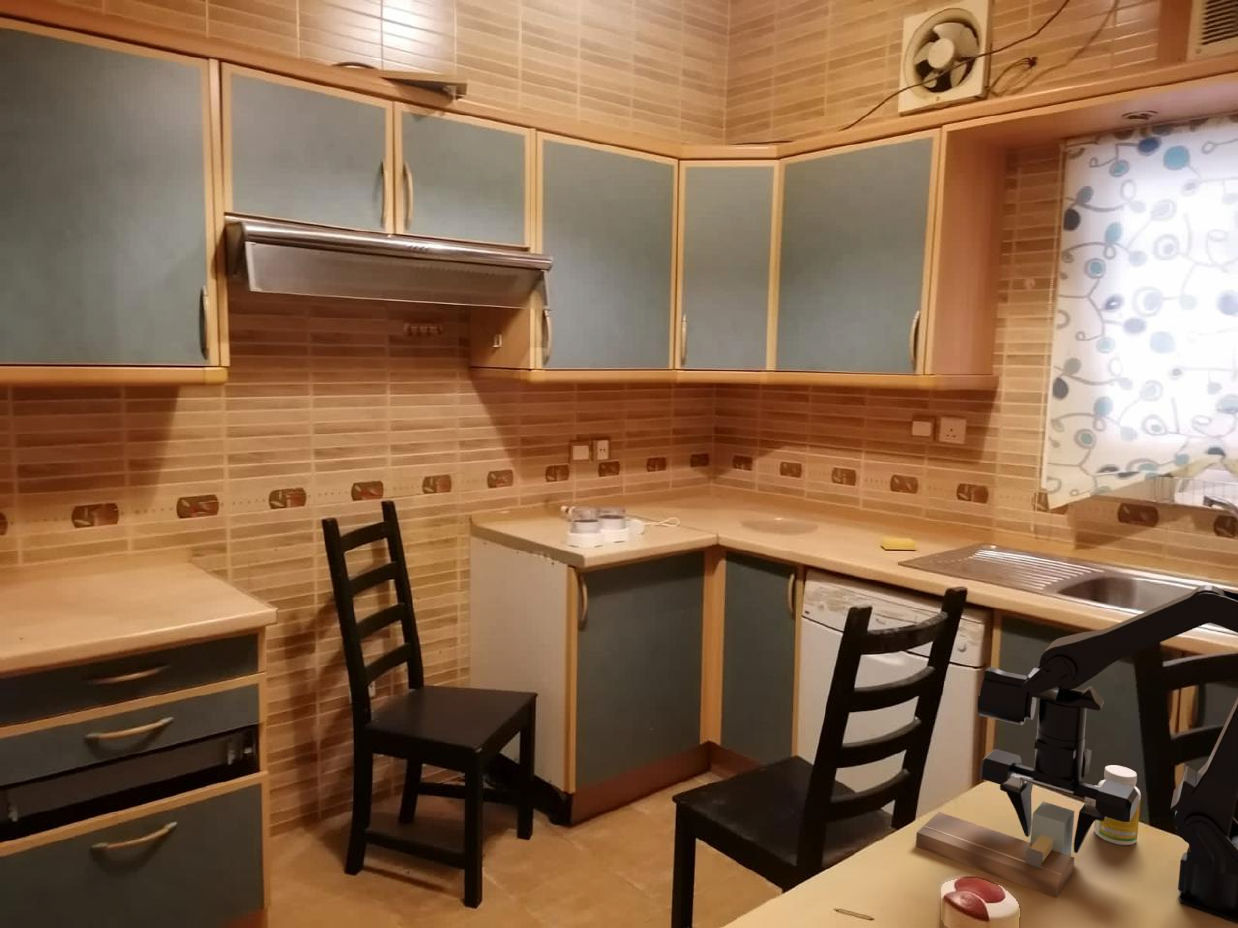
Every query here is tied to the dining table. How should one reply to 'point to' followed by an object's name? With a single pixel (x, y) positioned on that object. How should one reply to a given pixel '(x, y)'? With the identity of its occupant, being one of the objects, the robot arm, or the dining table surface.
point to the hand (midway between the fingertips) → (1051, 843)
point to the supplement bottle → (1113, 828)
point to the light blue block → (1050, 833)
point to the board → (994, 853)
